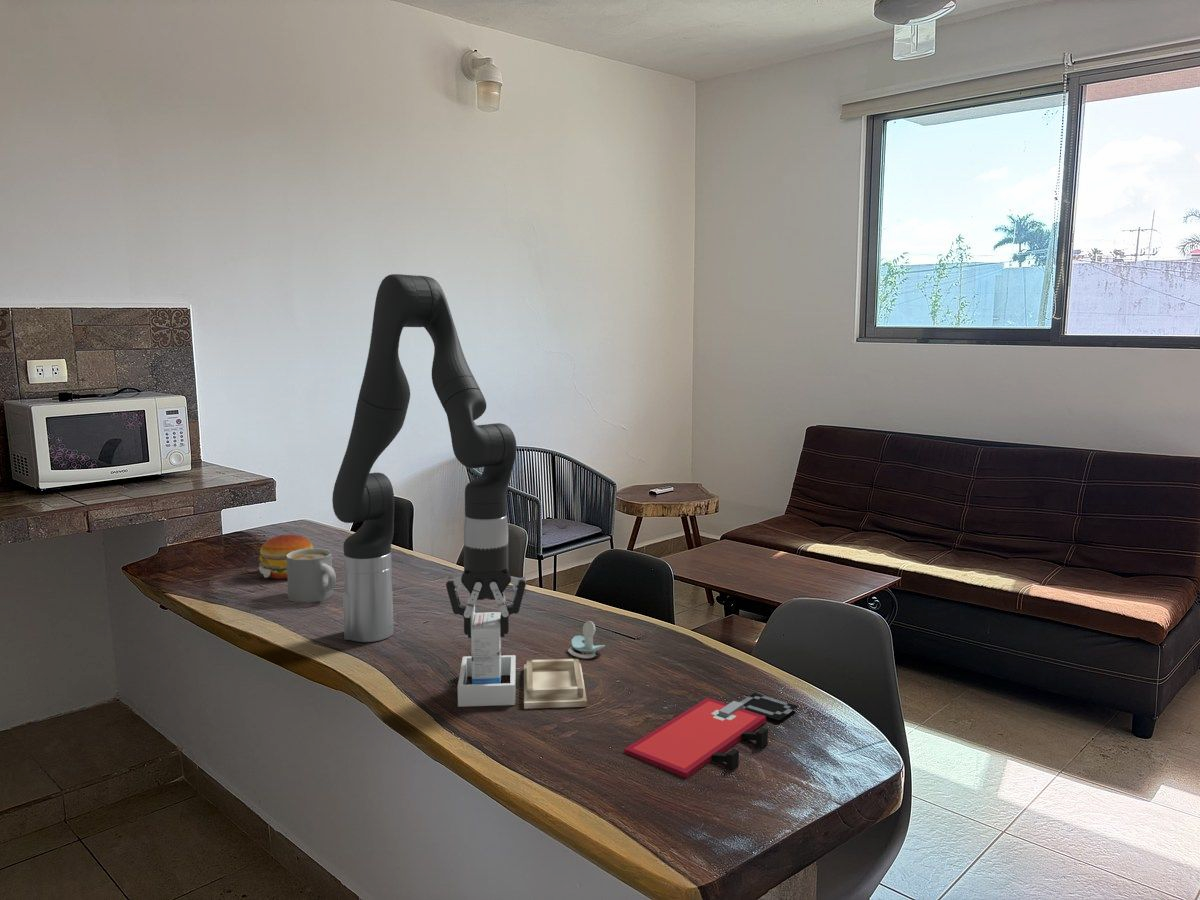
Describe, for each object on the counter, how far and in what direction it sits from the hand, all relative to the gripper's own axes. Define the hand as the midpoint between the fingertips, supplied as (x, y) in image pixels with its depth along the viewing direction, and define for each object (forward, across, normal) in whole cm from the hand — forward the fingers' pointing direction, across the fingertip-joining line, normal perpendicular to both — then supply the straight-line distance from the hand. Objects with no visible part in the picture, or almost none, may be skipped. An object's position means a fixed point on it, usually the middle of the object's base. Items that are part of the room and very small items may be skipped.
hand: (486, 635), depth 149 cm
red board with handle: (+10, +37, -19) cm, 43 cm away
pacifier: (+10, +18, +15) cm, 26 cm away
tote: (+10, 0, 0) cm, 10 cm away
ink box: (+9, 0, 0) cm, 9 cm away
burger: (+11, -53, +72) cm, 90 cm away
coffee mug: (+11, -42, +53) cm, 68 cm away
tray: (+10, +12, 0) cm, 15 cm away
